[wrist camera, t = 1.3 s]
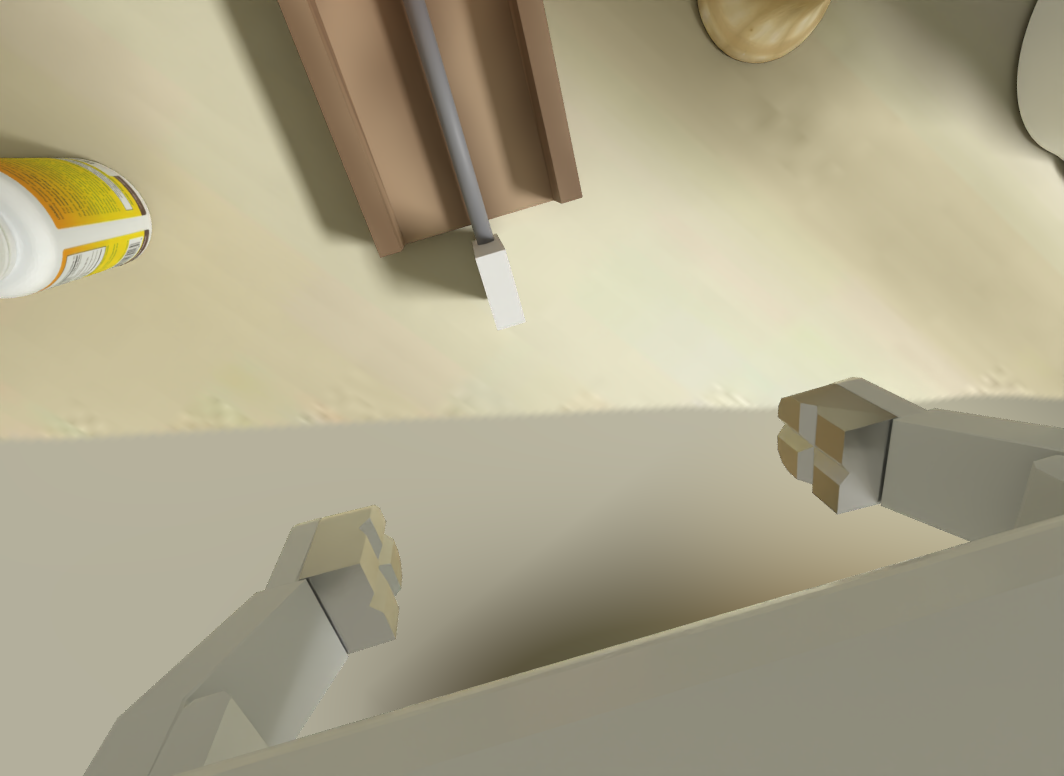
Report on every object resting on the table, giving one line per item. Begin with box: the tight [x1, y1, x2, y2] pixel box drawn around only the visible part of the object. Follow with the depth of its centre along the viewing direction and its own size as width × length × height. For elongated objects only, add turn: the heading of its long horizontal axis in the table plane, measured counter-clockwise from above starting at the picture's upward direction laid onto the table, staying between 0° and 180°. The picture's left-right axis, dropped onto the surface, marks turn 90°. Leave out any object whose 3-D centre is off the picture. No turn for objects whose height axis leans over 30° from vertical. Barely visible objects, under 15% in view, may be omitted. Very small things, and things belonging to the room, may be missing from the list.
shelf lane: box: [277, 0, 582, 258], centre depth 24 cm, size 12×20×4 cm, turn 15°
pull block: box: [403, 0, 526, 330], centre depth 24 cm, size 8×24×6 cm, turn 15°
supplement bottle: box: [0, 158, 152, 298], centre depth 22 cm, size 6×6×10 cm
